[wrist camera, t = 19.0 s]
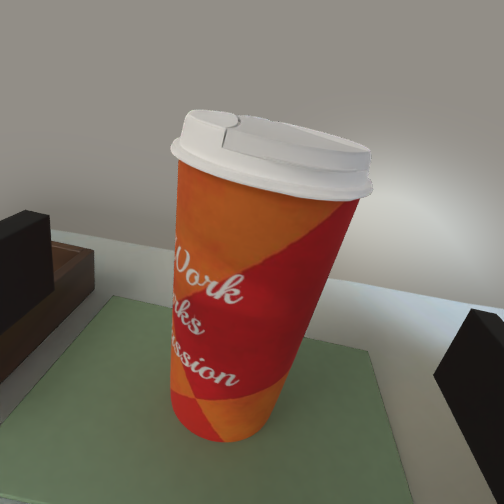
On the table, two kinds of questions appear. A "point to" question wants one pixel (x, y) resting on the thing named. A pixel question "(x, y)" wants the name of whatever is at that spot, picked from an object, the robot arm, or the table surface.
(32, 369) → the table surface
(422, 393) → the table surface
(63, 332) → the table surface
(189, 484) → the mat
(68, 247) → the crate
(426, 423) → the table surface
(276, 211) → the coffee cup
